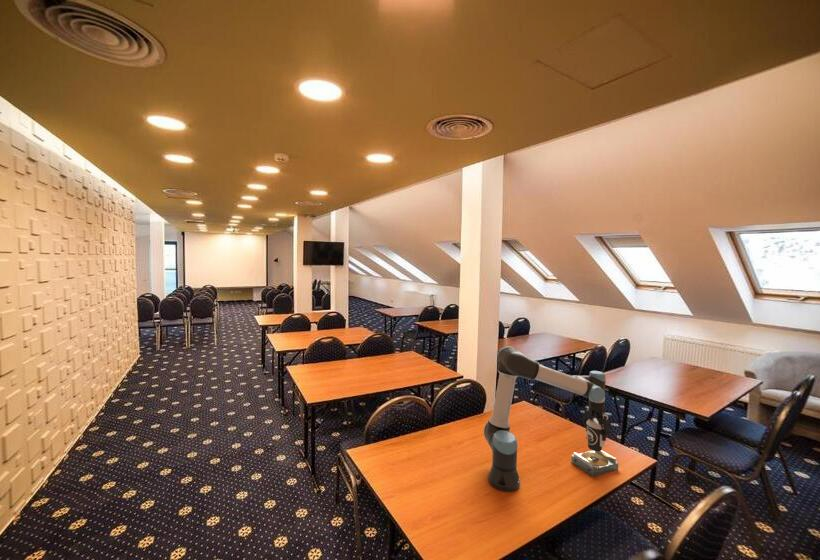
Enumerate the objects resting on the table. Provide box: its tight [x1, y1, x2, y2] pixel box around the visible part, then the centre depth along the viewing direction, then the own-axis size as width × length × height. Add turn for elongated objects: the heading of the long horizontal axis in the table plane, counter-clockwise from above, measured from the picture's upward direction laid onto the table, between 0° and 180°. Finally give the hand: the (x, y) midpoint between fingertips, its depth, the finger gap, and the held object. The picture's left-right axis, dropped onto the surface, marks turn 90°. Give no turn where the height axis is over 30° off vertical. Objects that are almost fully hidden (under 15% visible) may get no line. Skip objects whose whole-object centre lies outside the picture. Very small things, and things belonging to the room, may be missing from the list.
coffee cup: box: [586, 417, 604, 452], centre depth 185 cm, size 10×10×15 cm
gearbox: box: [570, 449, 619, 478], centre depth 185 cm, size 19×14×6 cm
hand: (595, 442), depth 185 cm, fingers closed on coffee cup, 8 cm apart
